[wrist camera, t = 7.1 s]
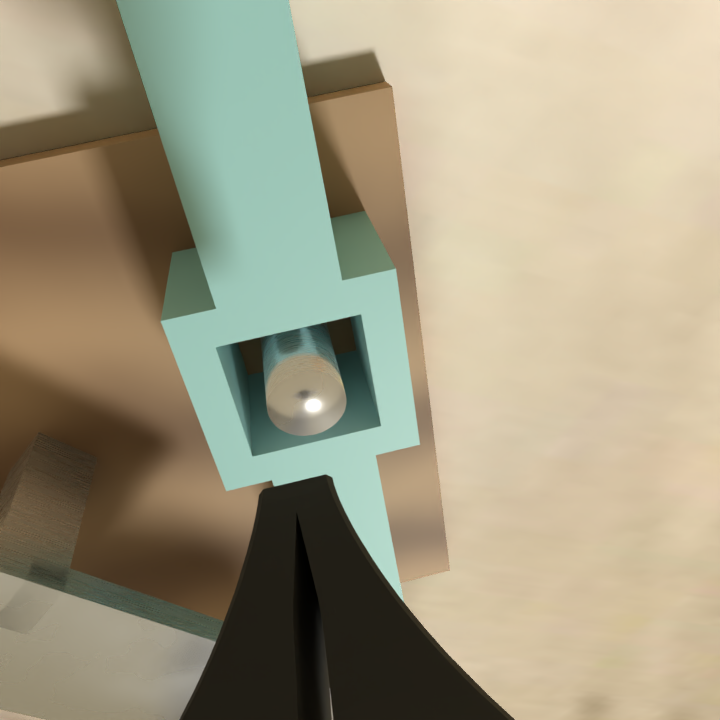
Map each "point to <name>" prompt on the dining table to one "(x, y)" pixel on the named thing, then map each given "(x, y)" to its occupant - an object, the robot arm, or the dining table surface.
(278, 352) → the cylinder
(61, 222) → the board
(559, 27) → the dining table surface
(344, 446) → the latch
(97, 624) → the keeper
